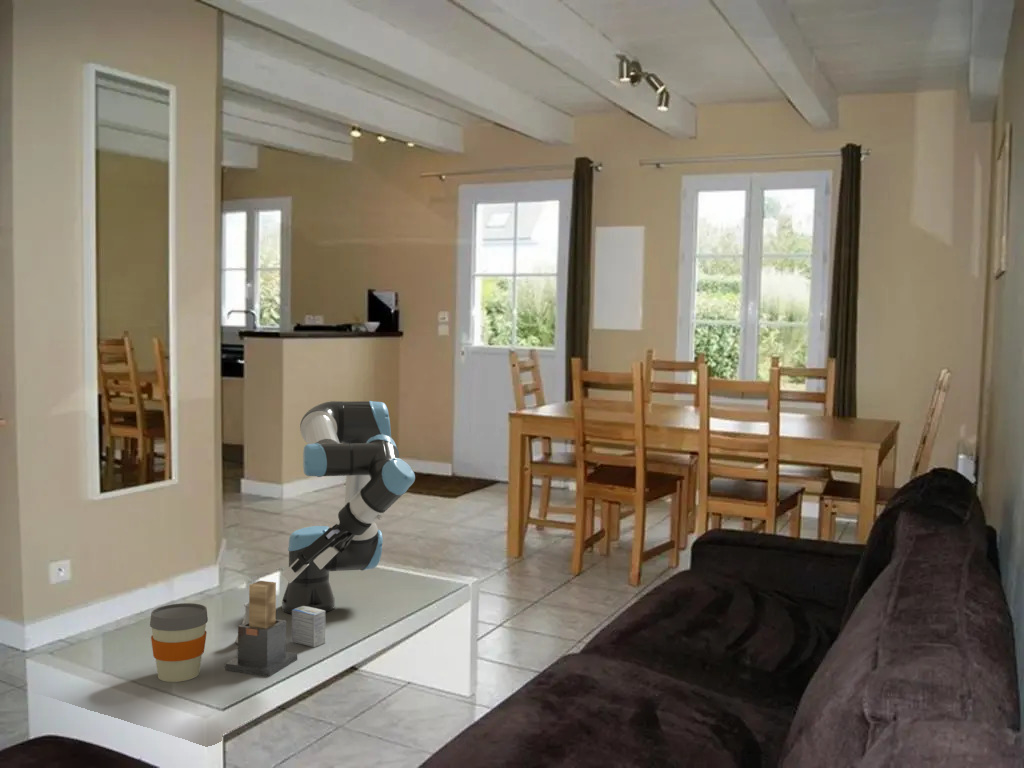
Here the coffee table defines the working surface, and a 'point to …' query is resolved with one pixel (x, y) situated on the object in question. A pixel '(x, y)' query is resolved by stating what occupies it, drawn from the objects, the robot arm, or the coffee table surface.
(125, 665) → the coffee table surface
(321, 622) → the medicine box
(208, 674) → the coffee table surface
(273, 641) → the metal stand
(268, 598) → the oak block
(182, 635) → the reusable coffee cup
